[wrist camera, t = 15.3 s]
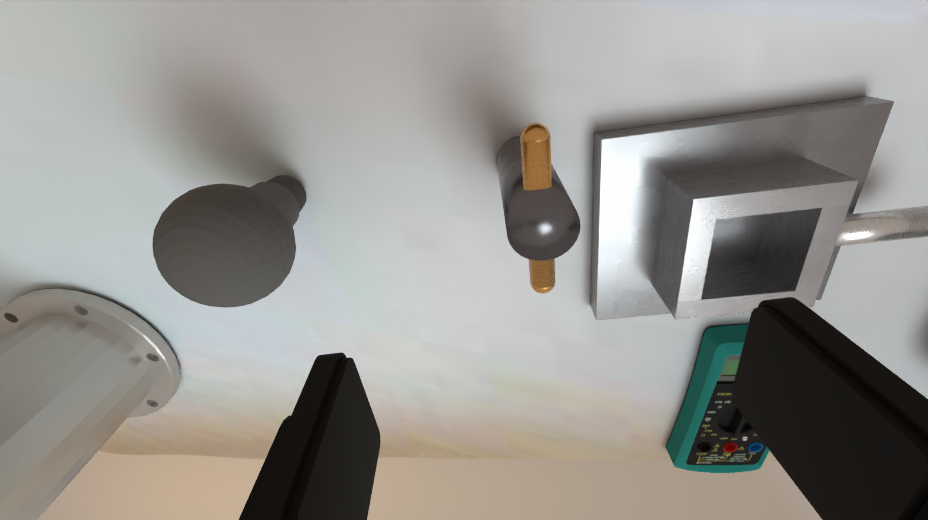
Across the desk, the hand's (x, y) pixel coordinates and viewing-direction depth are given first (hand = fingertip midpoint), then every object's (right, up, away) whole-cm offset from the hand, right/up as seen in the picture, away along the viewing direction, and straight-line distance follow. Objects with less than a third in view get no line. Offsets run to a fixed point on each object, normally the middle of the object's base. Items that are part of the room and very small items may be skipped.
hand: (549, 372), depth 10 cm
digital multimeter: (+19, -8, +23) cm, 31 cm away
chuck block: (+14, +6, +15) cm, 21 cm away
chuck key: (+1, +8, +14) cm, 16 cm away
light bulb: (-12, +7, +15) cm, 21 cm away
